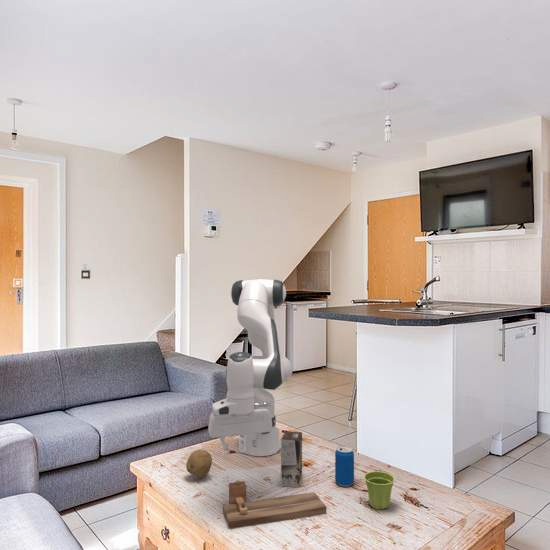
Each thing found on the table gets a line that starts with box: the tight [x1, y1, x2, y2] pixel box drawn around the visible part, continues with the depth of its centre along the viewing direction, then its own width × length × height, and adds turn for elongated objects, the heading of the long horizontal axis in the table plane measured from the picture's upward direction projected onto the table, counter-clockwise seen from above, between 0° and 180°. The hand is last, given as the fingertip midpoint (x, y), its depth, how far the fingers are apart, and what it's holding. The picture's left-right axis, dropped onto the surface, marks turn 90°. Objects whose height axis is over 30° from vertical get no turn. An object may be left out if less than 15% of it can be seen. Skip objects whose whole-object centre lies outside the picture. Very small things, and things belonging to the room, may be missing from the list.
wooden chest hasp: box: [228, 480, 248, 514], centre depth 141 cm, size 11×5×8 cm, turn 16°
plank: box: [222, 491, 327, 530], centre depth 141 cm, size 10×30×2 cm, turn 106°
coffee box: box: [280, 431, 303, 488], centre depth 162 cm, size 9×6×16 cm
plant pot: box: [363, 470, 396, 510], centre depth 145 cm, size 9×9×9 cm
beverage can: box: [334, 445, 355, 488], centre depth 161 cm, size 6×6×12 cm
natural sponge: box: [185, 449, 213, 479], centre depth 165 cm, size 9×9×10 cm
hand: (240, 448), depth 146 cm, fingers open, 8 cm apart
